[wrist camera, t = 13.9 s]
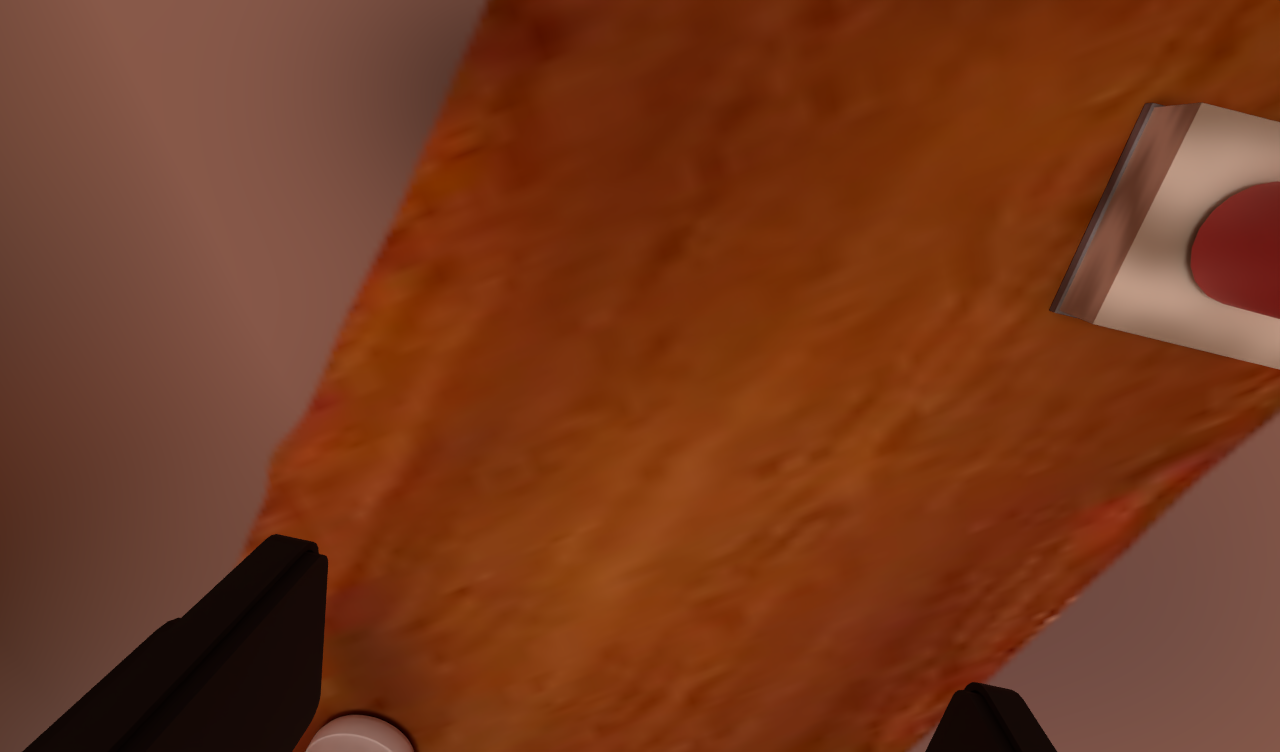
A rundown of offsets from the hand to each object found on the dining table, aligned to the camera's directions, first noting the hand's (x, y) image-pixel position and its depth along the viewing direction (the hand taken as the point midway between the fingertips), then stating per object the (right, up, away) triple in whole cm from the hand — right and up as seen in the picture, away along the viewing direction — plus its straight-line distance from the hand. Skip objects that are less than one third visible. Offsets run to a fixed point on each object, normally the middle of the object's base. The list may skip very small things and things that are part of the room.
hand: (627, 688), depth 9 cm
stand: (+34, +13, +29) cm, 46 cm away
